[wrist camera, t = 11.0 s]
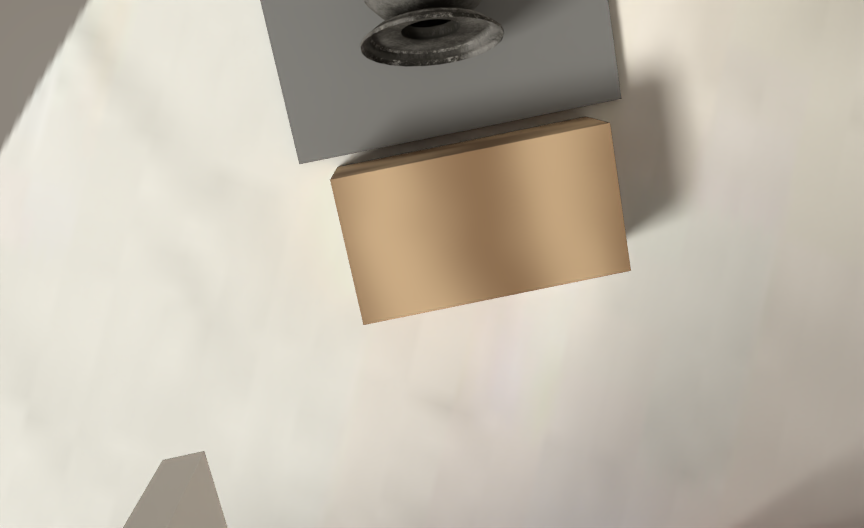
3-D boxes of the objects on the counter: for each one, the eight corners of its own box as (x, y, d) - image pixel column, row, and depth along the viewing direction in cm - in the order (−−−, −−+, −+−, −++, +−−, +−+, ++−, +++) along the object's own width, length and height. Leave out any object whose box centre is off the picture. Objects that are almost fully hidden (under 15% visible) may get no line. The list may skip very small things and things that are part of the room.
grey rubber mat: (300, 162, 35) (299, 164, 34) (252, -40, 33) (250, -42, 32) (618, 98, 35) (621, 98, 34) (589, -109, 33) (592, -112, 32)
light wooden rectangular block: (366, 297, 36) (363, 324, 32) (337, 167, 35) (330, 179, 31) (605, 248, 36) (630, 270, 32) (585, 116, 35) (610, 122, 31)
